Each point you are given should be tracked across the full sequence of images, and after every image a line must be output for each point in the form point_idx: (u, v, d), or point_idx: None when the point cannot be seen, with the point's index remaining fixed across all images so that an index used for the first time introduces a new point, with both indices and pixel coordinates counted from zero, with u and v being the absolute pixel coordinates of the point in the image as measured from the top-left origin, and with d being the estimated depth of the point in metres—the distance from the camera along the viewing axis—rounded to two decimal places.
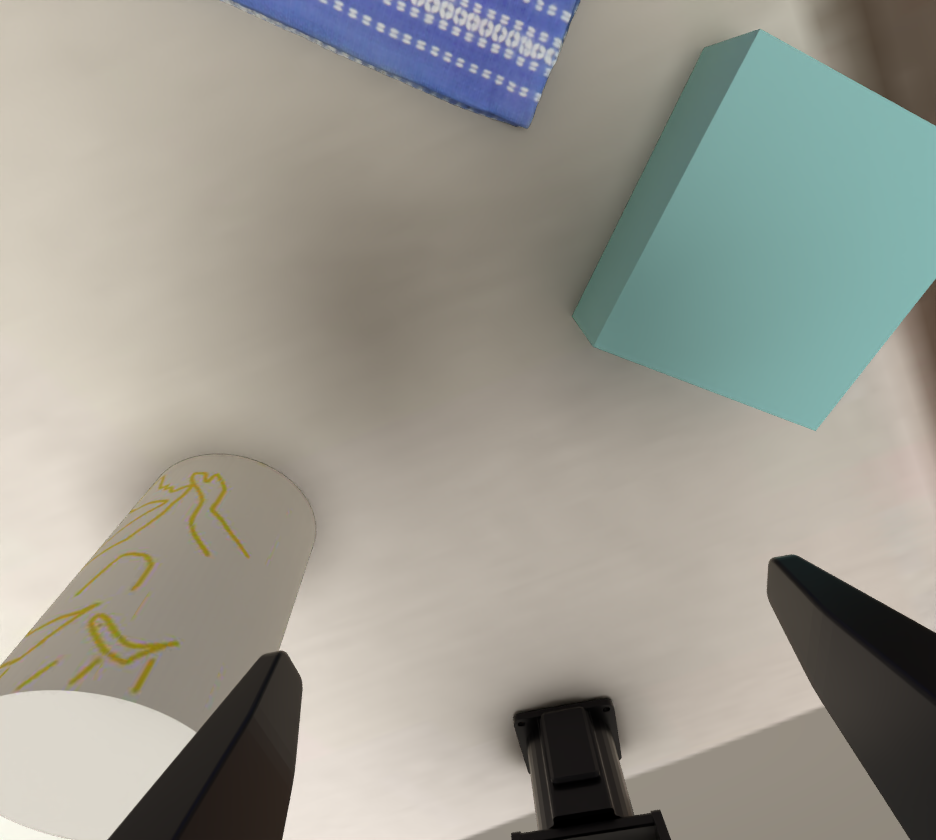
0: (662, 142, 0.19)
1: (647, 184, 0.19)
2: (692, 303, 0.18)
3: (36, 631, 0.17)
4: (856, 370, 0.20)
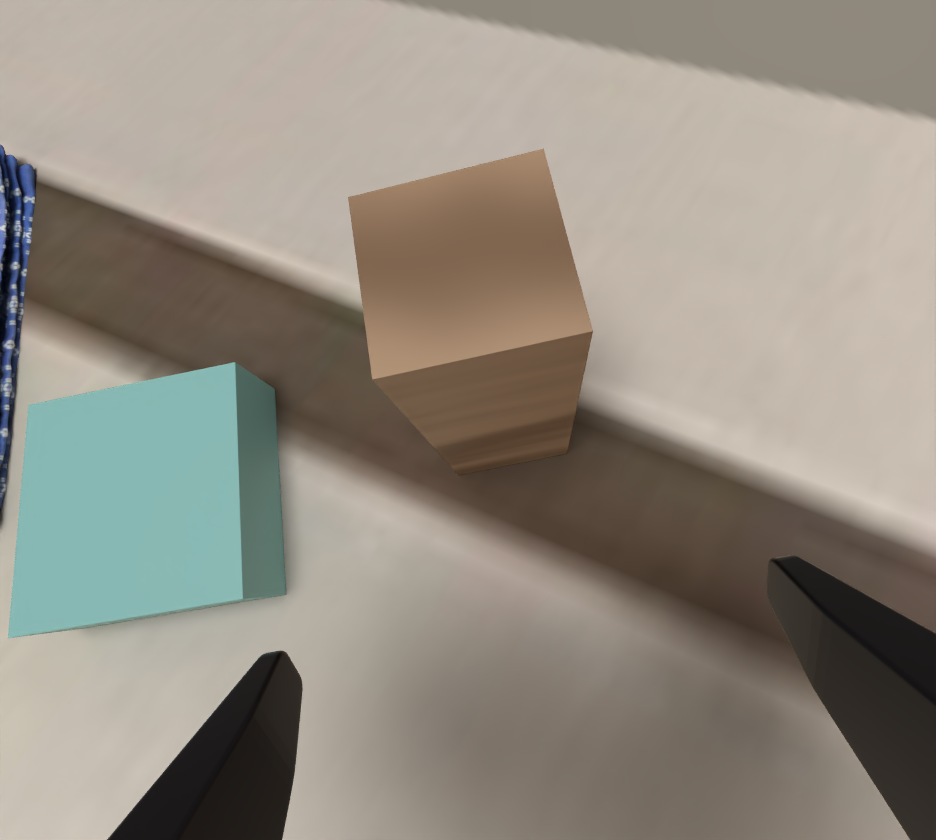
0: None
1: None
2: (69, 560, 0.22)
3: None
4: (234, 530, 0.21)
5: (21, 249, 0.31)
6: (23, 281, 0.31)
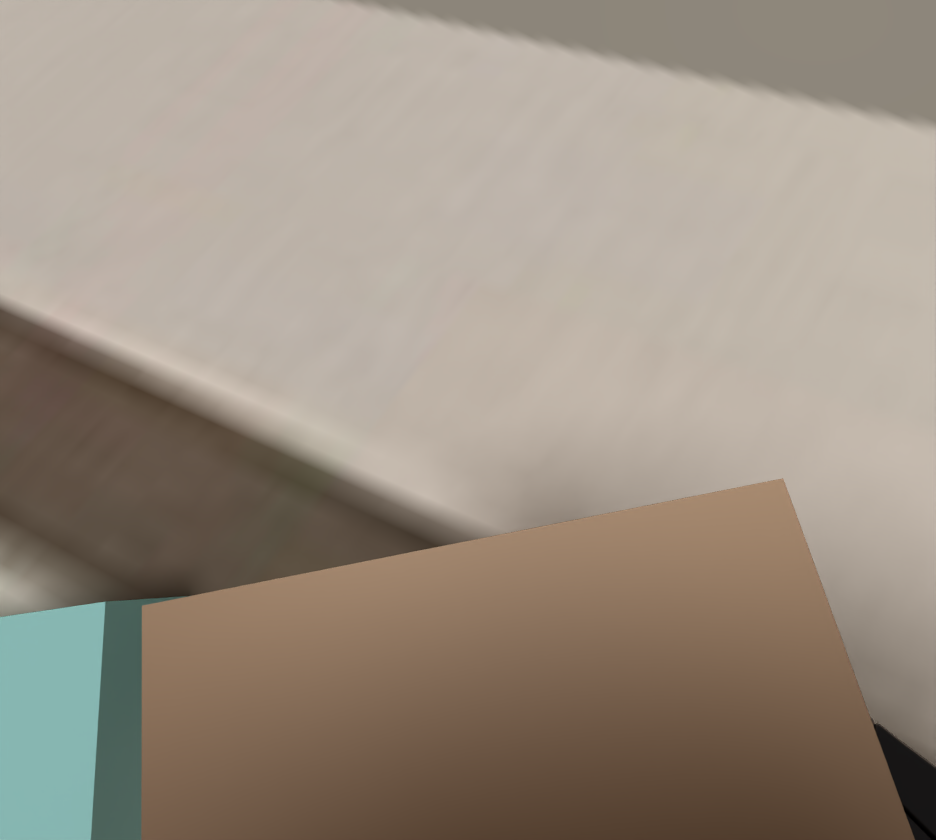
0: None
1: None
2: None
3: None
4: None
5: None
6: None
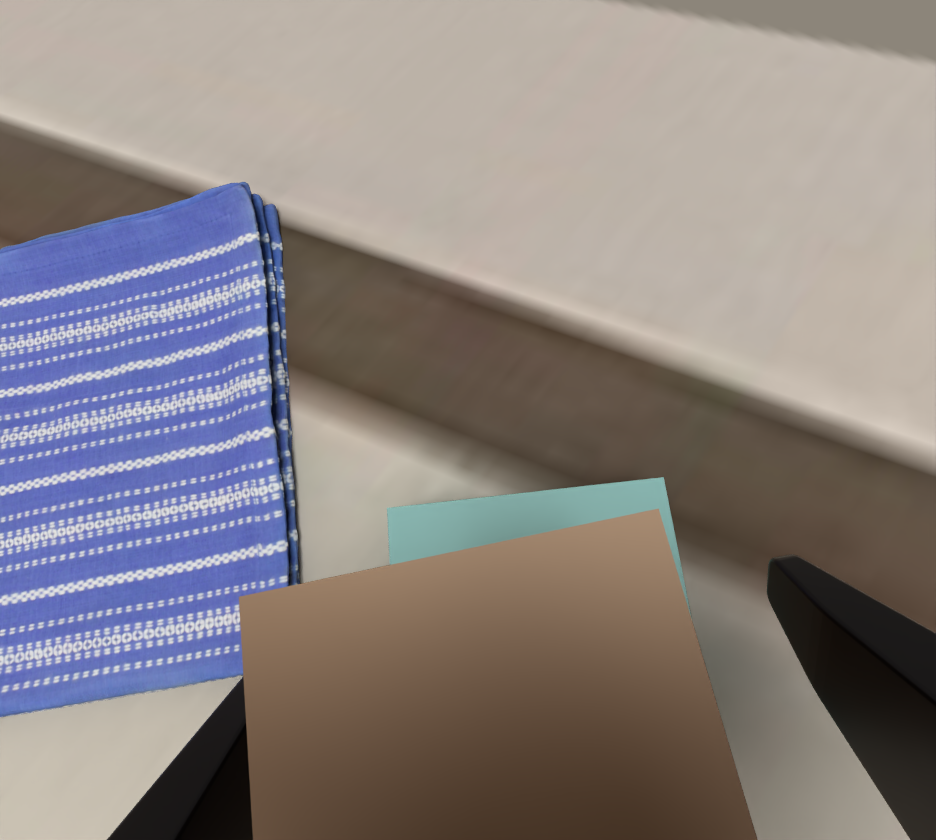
0: None
1: None
2: None
3: None
4: None
5: (277, 306, 0.27)
6: (283, 345, 0.26)
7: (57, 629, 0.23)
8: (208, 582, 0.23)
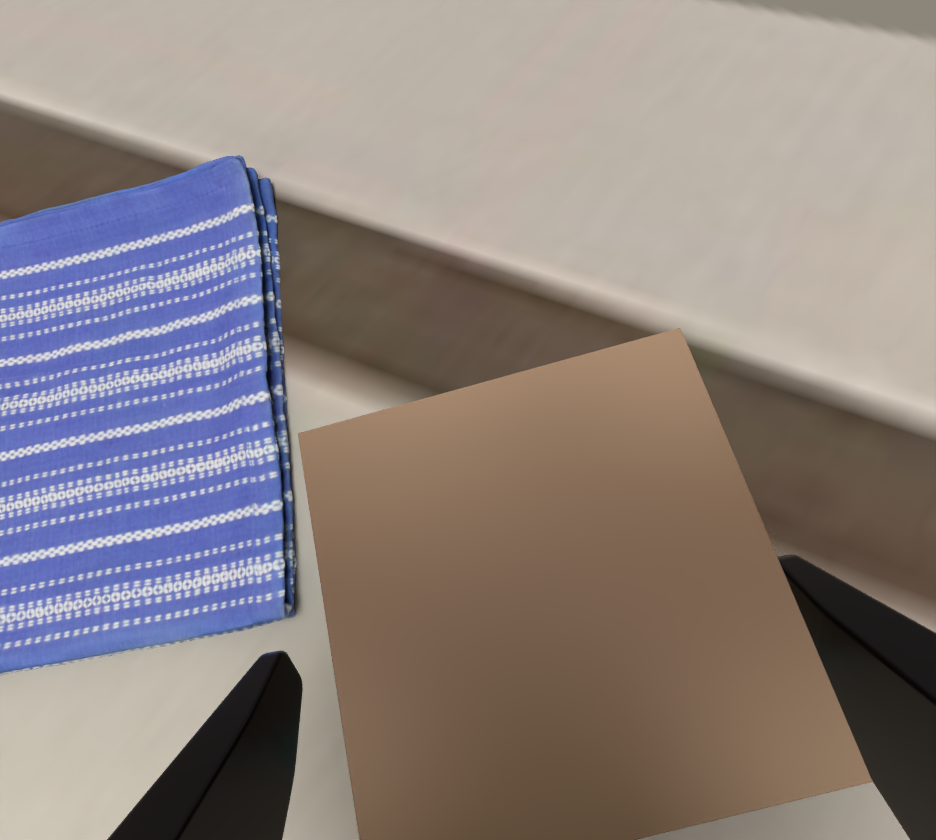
0: None
1: None
2: None
3: None
4: None
5: (271, 277, 0.27)
6: (278, 314, 0.27)
7: (58, 588, 0.24)
8: (205, 542, 0.23)
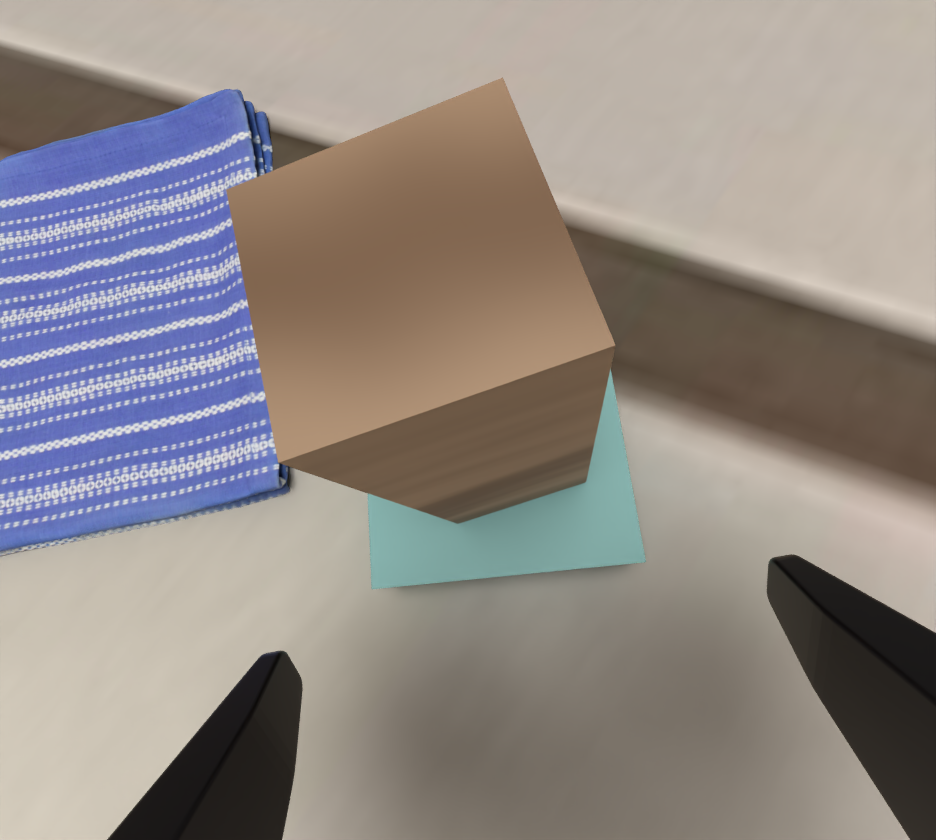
0: None
1: None
2: None
3: None
4: (625, 487, 0.20)
5: None
6: None
7: (72, 473, 0.26)
8: (206, 429, 0.26)
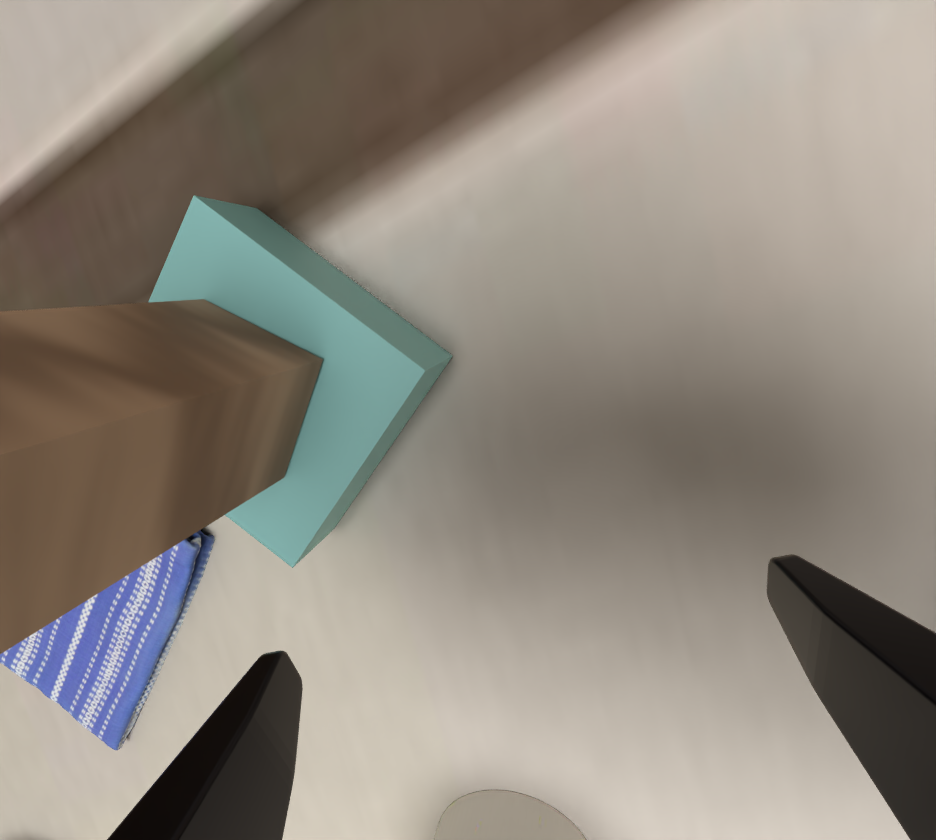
0: None
1: None
2: None
3: None
4: (358, 329, 0.18)
5: None
6: None
7: (101, 653, 0.29)
8: None
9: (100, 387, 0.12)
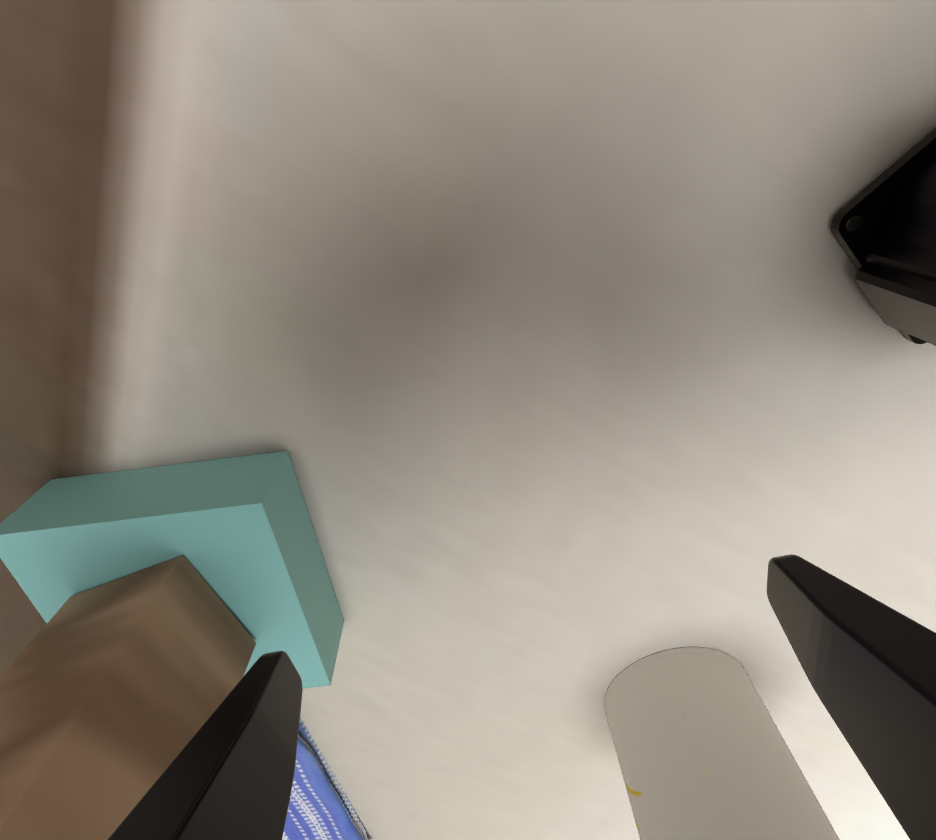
0: None
1: None
2: (253, 654, 0.22)
3: None
4: (189, 518, 0.19)
5: None
6: None
7: (294, 812, 0.33)
8: None
9: (5, 775, 0.13)
